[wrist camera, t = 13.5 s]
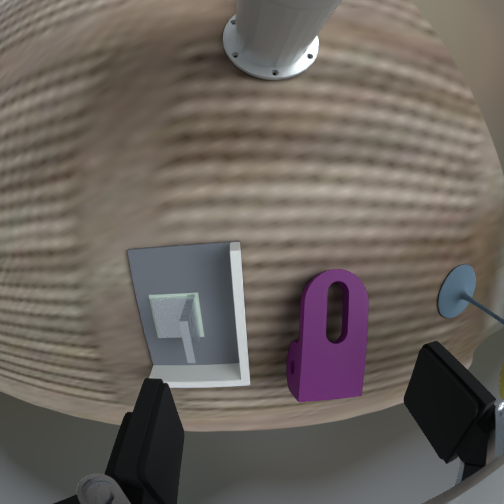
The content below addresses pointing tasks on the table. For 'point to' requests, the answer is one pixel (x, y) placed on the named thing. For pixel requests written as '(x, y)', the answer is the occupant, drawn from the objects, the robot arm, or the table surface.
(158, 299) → the angle bracket
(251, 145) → the table surface
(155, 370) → the tray
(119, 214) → the table surface
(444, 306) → the cocktail glass
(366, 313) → the mounting bracket
